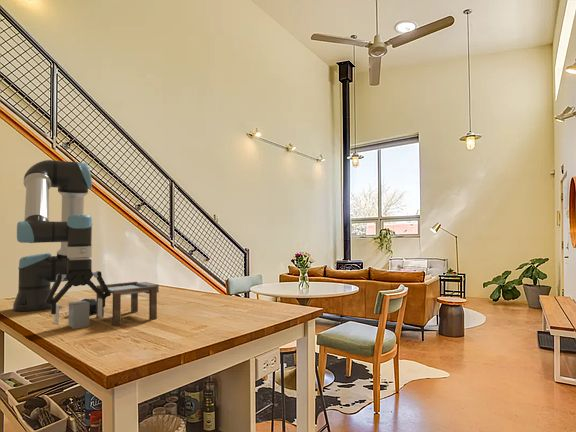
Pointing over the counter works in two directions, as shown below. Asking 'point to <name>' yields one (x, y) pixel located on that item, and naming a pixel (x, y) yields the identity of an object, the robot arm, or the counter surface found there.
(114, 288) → the trapdoor
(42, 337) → the counter surface
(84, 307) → the grey rectangular block
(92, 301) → the rock
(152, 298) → the trapdoor frame
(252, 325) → the counter surface
